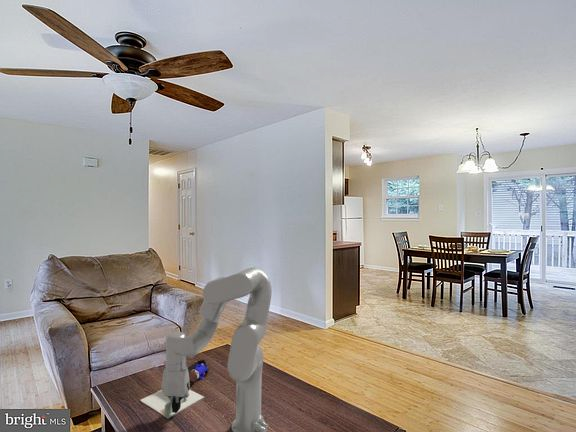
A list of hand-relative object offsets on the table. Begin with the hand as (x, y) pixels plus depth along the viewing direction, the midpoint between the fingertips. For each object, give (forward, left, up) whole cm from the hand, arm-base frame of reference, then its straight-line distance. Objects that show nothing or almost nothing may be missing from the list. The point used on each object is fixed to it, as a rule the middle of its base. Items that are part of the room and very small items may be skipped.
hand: (176, 410), depth 130 cm
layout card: (+11, -6, -2) cm, 13 cm away
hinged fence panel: (+4, -3, -1) cm, 5 cm away
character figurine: (+17, -25, -2) cm, 30 cm away
